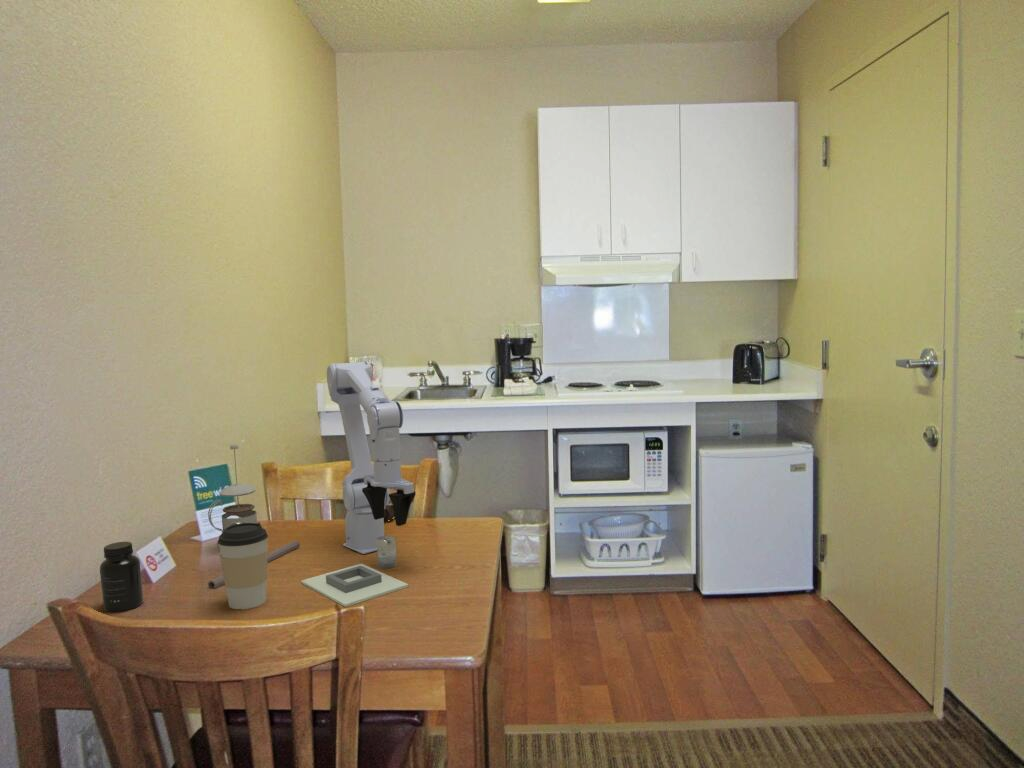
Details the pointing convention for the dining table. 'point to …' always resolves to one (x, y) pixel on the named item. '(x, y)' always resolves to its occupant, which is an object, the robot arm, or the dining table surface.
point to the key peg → (386, 552)
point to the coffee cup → (244, 564)
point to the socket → (354, 584)
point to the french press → (236, 510)
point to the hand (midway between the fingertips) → (389, 521)
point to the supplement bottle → (120, 578)
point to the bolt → (388, 513)
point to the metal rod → (270, 557)
